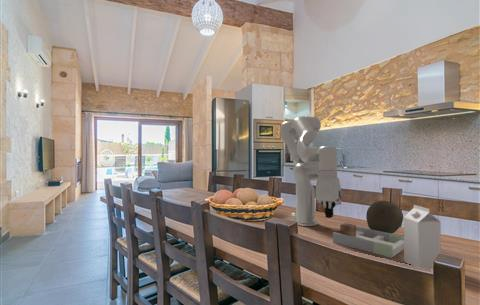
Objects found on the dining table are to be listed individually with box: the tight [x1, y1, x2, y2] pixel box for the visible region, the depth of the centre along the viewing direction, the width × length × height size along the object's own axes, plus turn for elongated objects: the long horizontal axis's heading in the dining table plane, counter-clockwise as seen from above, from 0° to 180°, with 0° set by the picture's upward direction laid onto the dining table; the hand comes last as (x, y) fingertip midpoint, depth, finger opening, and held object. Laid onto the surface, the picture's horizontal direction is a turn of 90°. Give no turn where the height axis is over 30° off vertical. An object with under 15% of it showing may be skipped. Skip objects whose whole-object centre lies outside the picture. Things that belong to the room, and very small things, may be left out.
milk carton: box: [403, 204, 442, 269], centre depth 86 cm, size 7×7×19 cm
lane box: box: [332, 226, 404, 259], centre depth 107 cm, size 22×16×4 cm
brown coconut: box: [365, 200, 404, 234], centre depth 119 cm, size 14×14×15 cm
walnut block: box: [339, 222, 357, 237], centre depth 110 cm, size 4×4×4 cm
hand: (329, 217), depth 116 cm, fingers closed
